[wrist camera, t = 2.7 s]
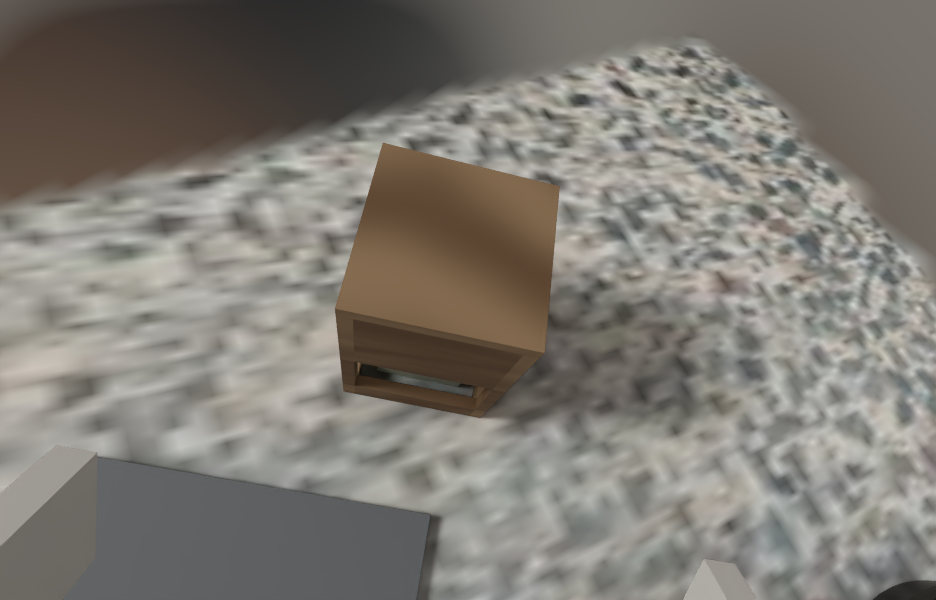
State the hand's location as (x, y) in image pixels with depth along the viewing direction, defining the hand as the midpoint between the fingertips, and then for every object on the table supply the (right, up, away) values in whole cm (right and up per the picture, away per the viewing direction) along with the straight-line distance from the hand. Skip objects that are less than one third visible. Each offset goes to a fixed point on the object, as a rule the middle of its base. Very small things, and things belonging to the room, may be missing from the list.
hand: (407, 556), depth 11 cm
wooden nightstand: (-1, +3, +18) cm, 18 cm away
